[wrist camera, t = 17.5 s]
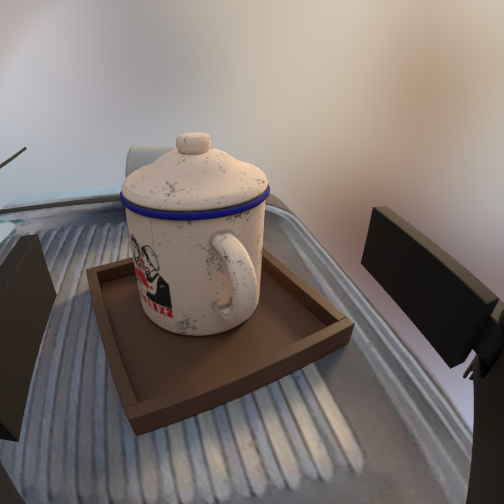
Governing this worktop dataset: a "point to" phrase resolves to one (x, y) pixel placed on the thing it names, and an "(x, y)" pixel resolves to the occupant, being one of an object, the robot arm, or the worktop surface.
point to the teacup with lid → (196, 237)
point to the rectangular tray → (208, 344)
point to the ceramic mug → (144, 156)
